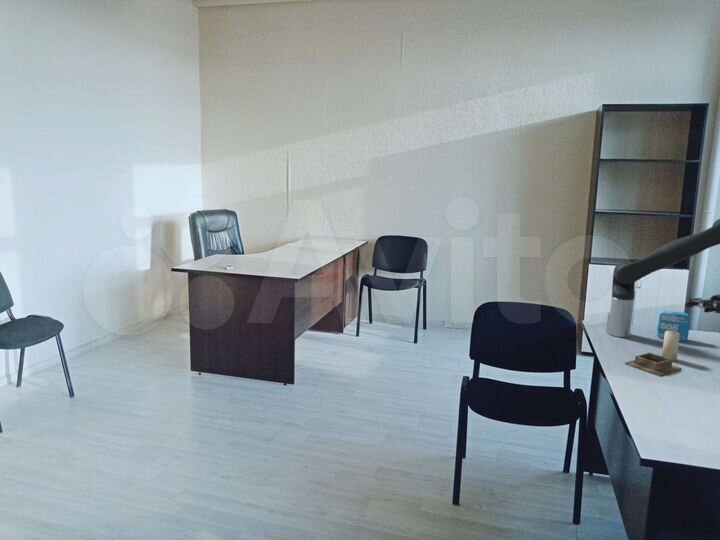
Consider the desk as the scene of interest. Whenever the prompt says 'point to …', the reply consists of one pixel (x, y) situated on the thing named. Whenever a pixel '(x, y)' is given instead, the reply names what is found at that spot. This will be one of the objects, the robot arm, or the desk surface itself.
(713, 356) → the desk surface
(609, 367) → the desk surface
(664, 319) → the data package
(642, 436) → the desk surface
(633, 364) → the roll stand
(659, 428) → the desk surface
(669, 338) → the paper roll
